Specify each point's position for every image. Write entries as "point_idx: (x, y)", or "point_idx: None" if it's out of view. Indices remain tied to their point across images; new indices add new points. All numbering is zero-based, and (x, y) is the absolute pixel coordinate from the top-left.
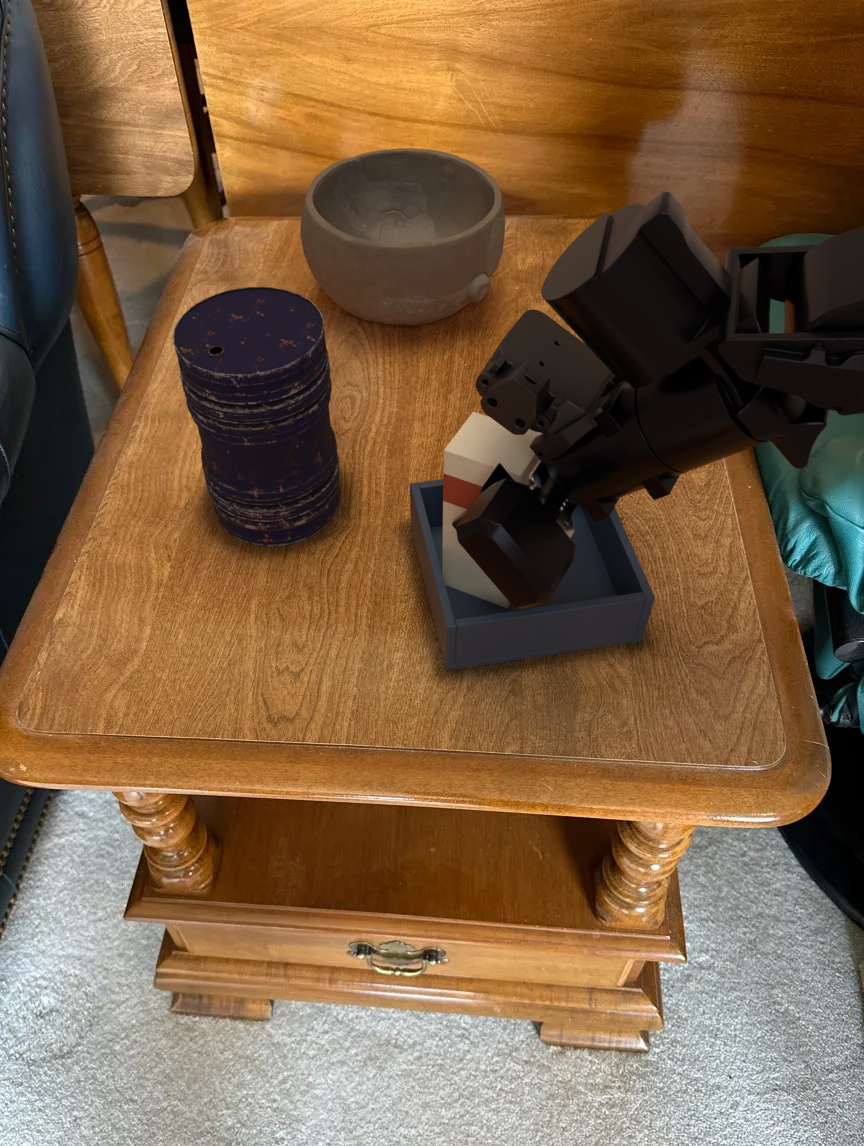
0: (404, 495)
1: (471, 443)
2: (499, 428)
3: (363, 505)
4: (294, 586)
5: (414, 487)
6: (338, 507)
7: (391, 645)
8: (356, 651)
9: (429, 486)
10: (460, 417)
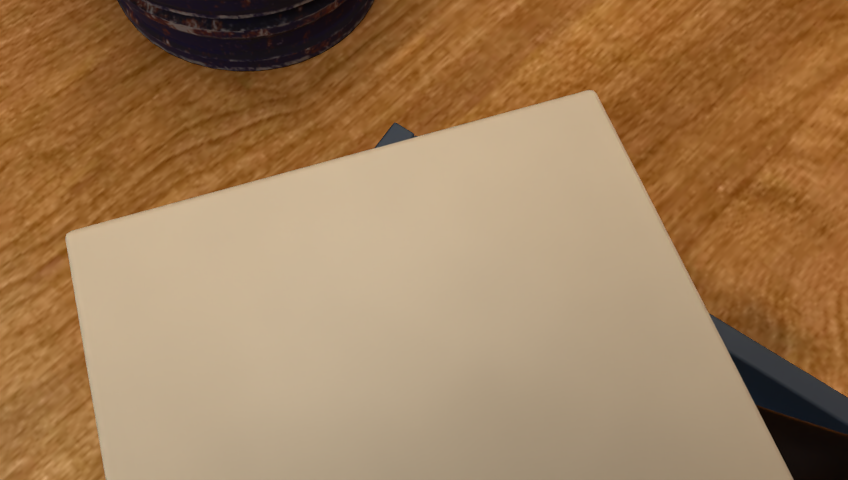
0: (452, 117)
1: (292, 350)
2: (630, 379)
3: (366, 80)
4: (83, 142)
5: (392, 140)
6: (319, 50)
7: (76, 429)
8: (7, 382)
9: None
10: (698, 44)
